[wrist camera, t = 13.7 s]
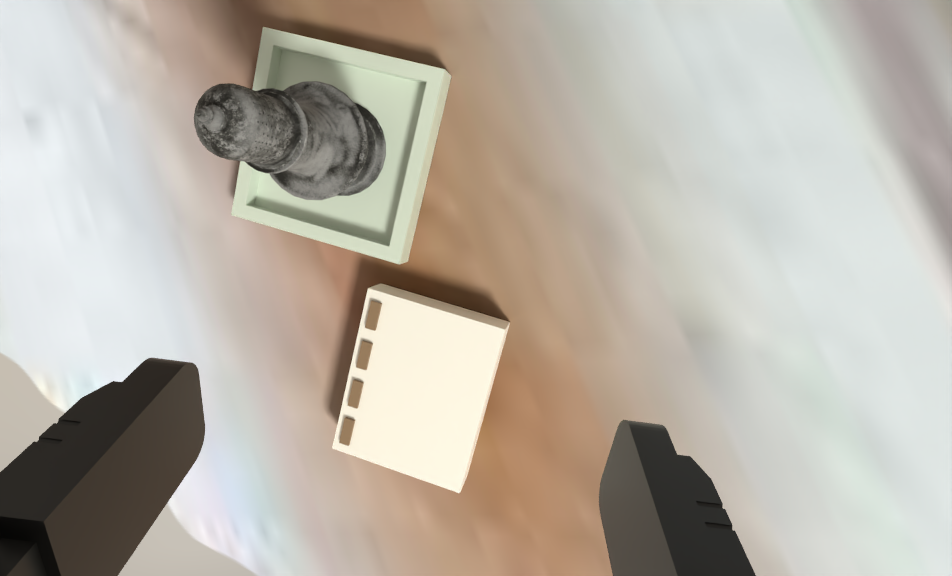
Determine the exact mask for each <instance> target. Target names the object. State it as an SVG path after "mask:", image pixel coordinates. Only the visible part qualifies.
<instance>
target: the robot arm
mask: <svg viewBox="0 0 952 576" xmlns="http://www.w3.org/2000/svg"><path fill="white" fill-rule="evenodd" d="M204 435H205V423H204V414H203V405H202V397H201V388H200V380H199V372H198V369H197V367H196V365H195V364H193V363H189V362H181V361H174V360H166V359H158V358H149V359H147V360H145V361H144V362H143V363H141V364H140V365H139V366H138V367H137V368H136V369H135V370H134V371H133V372H132V373H131V374H130V375H129V376H128V377H127V378H126V379H125V380H124V381H123V382H115V381H113V382H111V383H109V384H107V385H105V386H103V387H101V388H99V389H98V390H96V391H94V392H92V393H90V394H88V395H86V396H84V397H82V398H81V399H80V400H79V401H78V402H77V403H76V404H75V405H73V406H72V407H71V408H70V409H69V410H68V411H67V412H66V413H65V414H64V415H63V416H61V417H60V418H59V421H58V423H57V424H53V425H52V426H50V427H49V428H48V429H47V430H46V431H45V432H44V433H43V434H42V435H41V436H40V437H39V440H38V442H33V443H32V444H31V445H30V446H29V447H28V448H27V449H25V450H24V451H23V452H22V453H21V454H20V455H19V456H18V457H17V458H16V459H14V460H13V461H12V462H11V463H10V464H9V465H8V466H7V467H6V468H5V469H4V470H2V471H1V472H0V576H118V574H119V573H120V571H121V570H122V568H123V567H124V565H125V564H126V562H127V561H128V559H129V558H130V557H131V555H132V554H133V552H134V551H135V549H136V548H137V546H138V545H139V543H140V542H141V540H142V539H143V537H144V536H145V535H146V533H147V532H148V530H149V529H150V527H151V526H152V524H153V523H154V521H155V520H156V518H157V517H158V515H159V514H160V513H161V511H162V510H163V508H164V507H165V505H166V504H167V502H168V501H169V499H170V498H171V496H172V495H173V493H174V492H175V491H176V489H177V488H178V486H179V485H180V483H181V482H182V480H183V479H184V477H185V476H186V474H187V473H188V471H189V470H190V468H191V467H192V466H193V464H194V463H195V461H196V459H197V457H198V455H199V453H200V451H201V448H202V445H203V441H204ZM722 505H723V504H722V502H721V499H720V497H719V495H718V493H717V491H716V489H715V486H714V484H713V482H712V480H711V478H710V477H709V476H708V475H707V474H706V473H705V472H704V471H703V470H702V469H701V468H700V466H699V465H698V464H697V463H696V462H695V461H694V460H693V459H692V458H691V457H690V456H683V455H677V453H676V451H675V449H674V446H673V444H672V441H671V439H670V436H669V434H668V432H667V429H666V428H665V427H664V426H663V425H659V424H651V423H643V422H636V421H628V420H623V421H621V423H620V424H619V426H618V429H617V432H616V435H615V438H614V441H613V444H612V447H611V450H610V453H609V457H608V460H607V463H606V466H605V469H604V472H603V475H602V479H601V483H600V491H599V507H600V514H601V519H602V524H603V529H604V534H605V539H606V544H607V548H608V553H609V558H610V563H611V568H612V573H613V576H756V575H755V573H754V571H753V569H752V567H751V564H750V562H749V560H748V558H747V556H746V554H745V551H744V549H743V547H742V545H741V543H740V541H739V538H738V536H737V534H736V532H735V531H733V530H732V523H731V521H730V519H729V517H728V515H727V512H726V510H725V509H723V508H722Z"/></svg>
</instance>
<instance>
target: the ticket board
mask: <svg viewBox="0 0 952 576" xmlns="http://www.w3.org/2000/svg"><path fill="white" fill-rule="evenodd" d="M509 324H510V322H508V321H505V320H502V319H498V318H495V317H492V316H488V315H485V314H482V313H478V312H475V311H472V310H468V309H465V308H462V307H458V306H455V305H452V304H448V303H445V302H442V301H438V300H435V299H432V298H428V297H425V296H422V295H418V294H415V293H412V292H408V291H405V290H402V289H398V288H395V287H392V286H388V285H385V284H382V283H380V284H378V285H375V286H372V287H370V288H368V290H367V295H366V299H365V304H364V308H363V313H362V317H361V322H360V326H359V331H358V335H357V340H356V344H355V348H354V353H353V357H352V362H351V366H350V371H349V375H348V380H347V384H346V389H345V393H344V398H343V402H342V407H341V411H340V416H339V420H338V425H337V429H336V434H335V438H334V442H333V447H332V448H333V449H336V450H338V451H341V452H344V453H347V454H350V455H353V456H355V457H358V458H361V459H364V460H367V461H370V462H372V463H375V464H378V465H381V466H384V467H387V468H389V469H392V470H395V471H398V472H401V473H404V474H406V475H409V476H412V477H415V478H418V479H421V480H423V481H426V482H429V483H432V484H435V485H438V486H440V487H443V488H446V489H449V490H452V491H455V492H457V493H460V492H461V489H462V487H463V485H464V482H465V480H466V478H467V475H468V471H469V468H470V464H471V460H472V457H473V453H474V450H475V446H476V443H477V439H478V435H479V432H480V428H481V425H482V421H483V417H484V414H485V410H486V407H487V403H488V399H489V396H490V392H491V389H492V385H493V382H494V378H495V374H496V371H497V367H498V364H499V360H500V356H501V353H502V349H503V346H504V342H505V339H506V335H507V331H508V328H509Z"/></svg>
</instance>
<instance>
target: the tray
mask: <svg viewBox="0 0 952 576" xmlns="http://www.w3.org/2000/svg"><path fill="white" fill-rule="evenodd" d="M450 80H451V75H450V74H449V73H448V72H447V71H446V70H445V69H441V68H437V67H433V66H429V65H424V64H420V63H416V62H411V61H407V60H403V59H399V58H394V57H390V56H386V55H382V54H377V53H373V52H369V51H365V50H360V49H356V48H352V47H347V46H343V45H339V44H335V43H330V42H326V41H322V40H318V39H313V38H309V37H305V36H300V35H296V34H292V33H288V32H283V31H279V30H275V29H271V28H266V27H263V30H262V36H261V42H260V47H259V53H258V59H257V65H256V71H255V77H254V83H253V89H252V90H254V91H258V90H261V89H268V88H274V89H277V90H281V91H283V90H285V89H286V88H288V87H289V86H292V85H295V84H298V83H300V82H306V81H319V82H322V83H326V84H330V85H333V86H334V87H336V88H337V89H339V90H341V91H342V92H344V93H345V94H346V95H347V96H348V97H349V98H350V99H351V100H352V101H353V102H354V103H357V104H359V105H361V106H362V107H364V108H366V109H367V110H369V111H370V113H371V114H372V115H373V116H374V117H375V118H376V119H377V121H378V122H379V124H380V126H381V128H382V130H383V133H384V137H385V141H386V157H385V161H384V166H383V168H382V170H381V172H380V174H379V176H378V178H377V179H376V180H375V181H374V182H373V183H372V184H371V185H370V187H368V188H366V189H365V190H363V191H362V192H360V193H357V194H353V195H350V196H335V197H331V198H328V199H324V200H305V199H302V198H299V197H295V196H293V195H291V194H290V193H288V192H286V191H285V190H283V189H282V188H281V187H280V186H279V185H278V184H277V183H276V182H275V181H274V180H273V179H272V178H271V176H270V174H269V173H263V172H260V171H257V170H255V169H254V168H252V167H250V166H249V165H248V164H247V163H246V162H244V161H240V166H239V172H238V178H237V184H236V190H235V196H234V202H233V207H232V213H231V215H233V216H236V217H240V218H243V219H246V220H250V221H253V222H257V223H260V224H263V225H267V226H270V227H274V228H277V229H281V230H284V231H287V232H291V233H294V234H298V235H301V236H304V237H308V238H311V239H315V240H318V241H321V242H325V243H328V244H332V245H335V246H338V247H342V248H345V249H349V250H352V251H356V252H359V253H362V254H366V255H369V256H373V257H376V258H379V259H383V260H386V261H390V262H393V263H396V264H402V263H405V262H408V259H409V254H410V250H411V246H412V242H413V237H414V233H415V229H416V225H417V220H418V216H419V212H420V208H421V203H422V199H423V195H424V191H425V186H426V182H427V178H428V174H429V170H430V165H431V161H432V157H433V153H434V148H435V144H436V140H437V136H438V131H439V127H440V123H441V119H442V114H443V110H444V106H445V102H446V97H447V93H448V89H449V85H450Z"/></svg>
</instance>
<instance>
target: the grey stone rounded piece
mask: <svg viewBox="0 0 952 576" xmlns="http://www.w3.org/2000/svg"><path fill="white" fill-rule="evenodd" d="M194 124H195V128H196V132H197V135H198V137H199V139H200V141H201V143H202V144H203V145H204V146H205V147H206V149H207V150H209V151H210V152H212V153H213V154H215V155H217V156H219V157H222V158H225V159H229V160H237V161H244V162H246V163H247V164H248V165H249V166H250V167H252V168H254V169H255V170H257V171H260V172H263V173H269V174H270V176H271V178H272V179H273V180H274V181H275V182H276V183H277V184H278V185H279V186H280V187H281V188H282V189H283V190H285V191H286V192H288V193H290V194H291V195H293V196H295V197H299V198H302V199H305V200H324V199H328V198H331V197H335V196H350V195H353V194H357V193H360V192H362V191H363V190H365V189H366V188H368V187H370V185H371V184H372V183H373V182H374V181H375V180H376V179H377V178H378V176H379V174H380V172H381V170H382V168H383V166H384V161H385V157H386V141H385V137H384V133H383V130H382V128H381V126H380V124H379V122H378V121H377V119H376V118H375V117H374V116H373V115H372V114H371V113H370V111H369V110H367V109H366V108H364V107H362V106H361V105H359V104H357V103H354V102H353V101H352V100H351V99H350V98H349V97H348V96H347V95H346V94H345V93H344V92H342V91H341V90H339V89H337V88H336V87H334V86H333V85H330V84H326V83H322V82H319V81H306V82H300V83H298V84H295V85H292V86H289V87H288V88H286V89H285V90H283V91H281V90H277V89H274V88H268V89H261V90H258V91H254V90H251V89H249V88H246V87H243V86H240V85H236V84H218V85H216V86H213V87H211V88H210V89H208V90H207V91H206V92H205V93H204V94H203V95H202V97H201V98H200V99H199V101H198V103H197V106H196V108H195V114H194Z"/></svg>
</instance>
